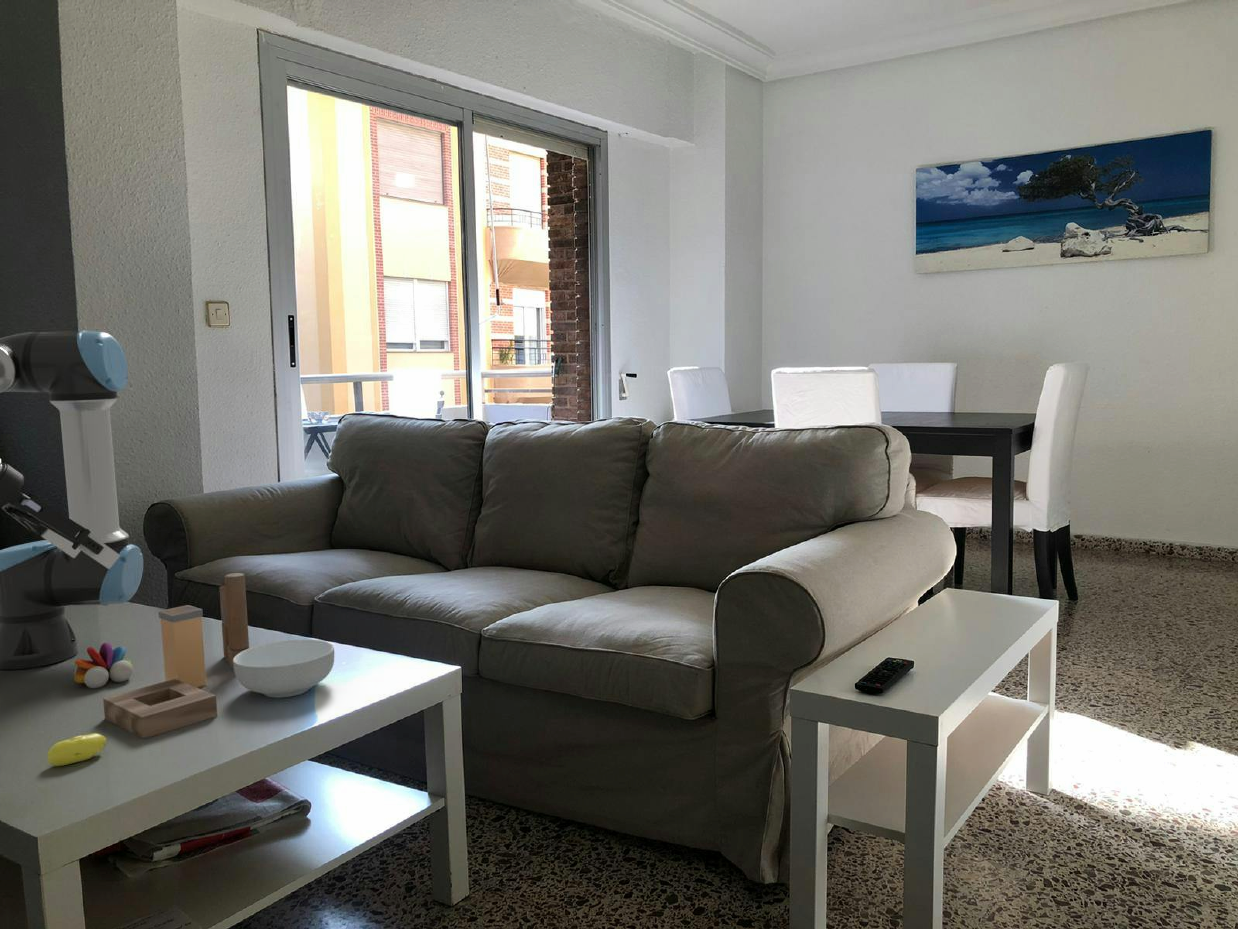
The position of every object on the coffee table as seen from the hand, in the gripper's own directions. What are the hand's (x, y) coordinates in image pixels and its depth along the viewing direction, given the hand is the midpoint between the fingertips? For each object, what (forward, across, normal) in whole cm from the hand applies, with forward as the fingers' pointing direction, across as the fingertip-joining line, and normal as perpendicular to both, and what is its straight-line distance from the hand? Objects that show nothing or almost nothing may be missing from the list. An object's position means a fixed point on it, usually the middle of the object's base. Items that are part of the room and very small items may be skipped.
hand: (96, 556), depth 162 cm
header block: (+20, +13, -16) cm, 29 cm away
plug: (+28, +1, -10) cm, 29 cm away
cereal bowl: (+35, +18, -3) cm, 39 cm away
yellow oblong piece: (+9, +20, -28) cm, 35 cm away
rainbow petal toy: (+22, -14, -15) cm, 31 cm away
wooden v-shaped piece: (+37, -5, -1) cm, 38 cm away
